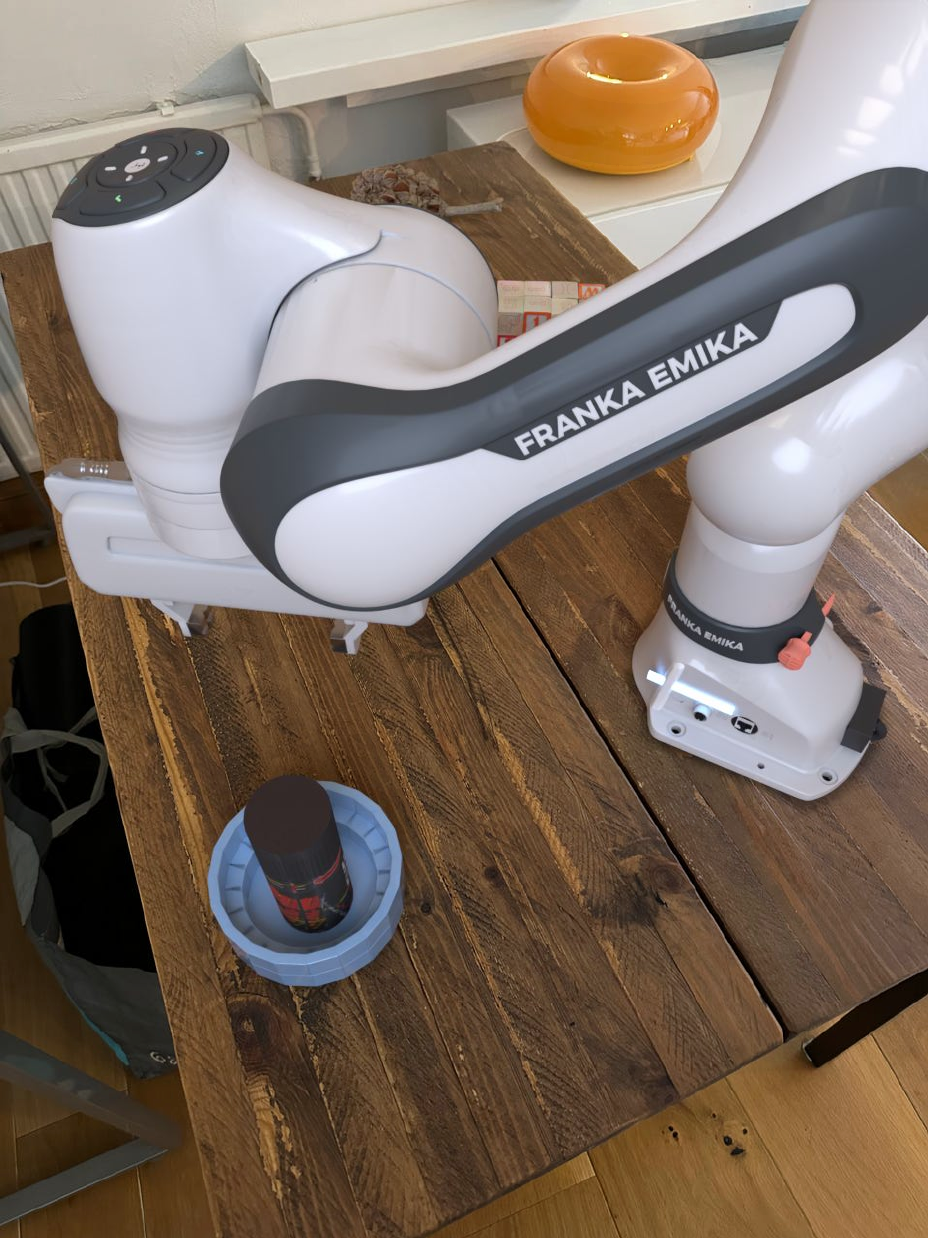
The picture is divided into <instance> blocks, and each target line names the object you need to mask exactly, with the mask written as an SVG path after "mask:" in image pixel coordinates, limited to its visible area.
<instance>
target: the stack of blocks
mask: <svg viewBox="0 0 928 1238" xmlns="http://www.w3.org/2000/svg"><path fill="white" fill-rule="evenodd" d="M496 285H497V290H498V299H499V306H498V332H497V348H498V347H499V346H501V345H503V344H505V343H507V342H509V341H510V340H512V339H514V338H516V337H518V336H520V335H521V334H523V333H525V332H527V331H529V330H531V329H532V328H534V327H536V326H538V325H540V324H542V323H543V322H545V321H547V320H549V319H551V318H553V317H554V316H556V315H558V314H560V313H562V312H564V311H565V310H567V309H569V308H571V307H573V306H575V305H576V304H578V303H580V302H582V301H584V300H586V299H587V298H589V297H591V296H593V295H595V294H597V293H598V292H600V291H602V290H604V289H606V285H605V284H604V283H603V284H601V283H578V282H577V281H561V280H560V281H559V280H552V281H548V280H547V281H543V280H542V281H541V280H525V281H524V280H501V279H500V280H497V281H496Z"/></svg>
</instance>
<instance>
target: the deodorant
mask: <svg viewBox="0 0 928 1238" xmlns="http://www.w3.org/2000/svg"><path fill="white" fill-rule="evenodd" d="M317 781H318V780H316V779H313V778H311V777H309V776H306V775H300V774H297V773H296V774H295V773H294V774H283V775H279V776H275V777H273V778H271V779H269V780H267V781H266V782H265V781H264V782H263V783H262V784H261V785H260V786H259V787H258V788H257V789H255V790H254V791H253V792H252V794H251V795H250V797H249V798H248V800H247V802H246V804H245V806H246V807H245V806H244V807H245V810H244V818H243V822H244V828H245V832H246V834H247V836H248V839H249V841H250V843H251V845H252V848H253V850H254V852H255V855H256V857H257V859H258V861H259V864H260V866H261V868H262V871H263V873H264V875H265V877H266V880H267V882H268V884H269V887H270V889H271V891H272V893H273V896H274V898H275V900H276V903H277V905H278V907H279V909H280V912H281V914H282V916H283V917H284V919H285V921H286V922H287V923H288V924H289V925H290V926H291V927H293V928H294V929H296V930H298V931H300V932H305V933H309V934H311V933H321V932H324V931H328V930H330V929H332V928H333V927H335V926H337V925H338V924H339V923H340V922H341V921H342V920H343V919H344V918H345V917H346V915H347V913H348V912H349V910H350V908H351V905H352V901H353V888H352V884H351V880H350V876H349V872H348V868H347V864H346V860H345V857H344V853H343V849H342V845H341V841H340V837H339V833H338V829H337V826H336V822H335V818H334V814H333V810H332V806H331V802H330V798H329V796H328V794H327V792H326V791H325V789H324V788H323V787H322V786H321V785H320V784H319V783H318V782H317Z"/></svg>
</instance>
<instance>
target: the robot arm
mask: <svg viewBox="0 0 928 1238" xmlns="http://www.w3.org/2000/svg"><path fill="white" fill-rule="evenodd" d="M50 236H51V246H52V252H53V253H52V254H53V259H54V260H53V261H54V265H55V269H56V273H57V277H58V281H59V286H60V288H61V289H60V290H61V293H62V297H63V301H64V304H65V306H66V311H67V313H68V316H69V319H70V323H71V326H72V329H73V332H74V336H75V339H76V341H77V344H78V346H79V349H80V352H81V355H82V357H83V359H84V362H85V365H86V368H87V370H88V372H89V375H90V378H91V380H92V383H93V385H94V387H95V388H96V390H97V392H98V393H99V395H100V396H101V397H102V399H103V400H104V401H105V402H106V403H107V405H108V406H109V407H110V408H111V409H112V410H113V412H114V414H115V416H116V419H117V435H118V444H119V448H120V452H121V455H122V458H123V460H124V461H123V460H108V461H102V460H101V461H100V460H91V459H89V458H86V457H78V456H77V457H76V456H73V457H65V458H63V459H62V460H61V462H60V463H58V464H53V465H52V466H50V467H48V468H47V470H46V472H45V473H44V477H43V486H44V489H45V491H46V492H47V495H48V497H49V498H50V501H51V503H52V505H53V506H54V508H55V509H56V510H57V511H58V512H59V513H60V514H61V527H62V528H61V529H62V533H63V537H64V541H65V545H66V547H67V548H66V549H67V551H68V555H69V556H70V559H71V562H72V566H73V568H74V569H75V572H76V575H77V576H78V579H79V580H80V581H81V582H82V583H83V584H84V585H85V586H87V587H88V588H89V589H91V590H93V591H94V592H96V593H98V594H101V595H105V596H117V597H124V598H135V599H145V600H150V603H151V605H152V606H154V607H155V608H156V609H158V610H159V611H161V612H162V613H164V614H165V615H166V616H167V617H169V618H170V619H172V620H173V621H175V622H177V623H178V625H179V629H180V630H181V632H182V635H183V637H191V638H203V639H204V638H205V639H208V638H209V637H210V636H211V629H212V628H213V627H214V624H215V620H216V617H215V613H214V612H213V611H212V609H213V607H221V608H231V609H241V610H249V611H250V610H251V611H257V612H258V611H259V612H268V613H276V614H277V613H279V614H289V615H297V616H307V617H316V618H325V619H334V621H333V626H334V627H333V628H332V629H331V632H330V635H329V641H330V645H331V646H332V647H331V651H332V652H333V653H339V654H347V655H357V654H358V651H359V648H360V645H361V640H362V634H363V633H364V632H365V631H366V630H367V629H368V628H369V624H370V623H374V624H382V625H393V626H401V627H411V626H413V625H414V624H416V623H417V622H419V621H420V620H421V619H423V618H424V617H425V616H426V612H427V609H428V605H429V601H430V598H431V597H433V596H435V595H438V594H440V593H441V592H443V591H445V590H446V589H448V588H450V587H453V586H454V585H455V584H457V583H458V582H460V581H462V580H463V579H465V578H466V577H468V576H469V575H471V574H472V573H473V572H476V570H478V569H480V567H481V566H483V565H485V563H487V562H488V561H489V560H491V559H492V558H493V557H494V556H495V555H497V554H498V553H499V552H501V551H503V549H505V548H506V547H508V546H509V545H510V544H512V543H513V542H514V541H516V540H517V539H519V538H521V537H522V536H524V535H525V534H528V533H529V532H530V531H532V530H534V529H536V528H537V527H539V526H541V525H542V524H543V525H544V524H545V523H547V522H549V521H551V520H552V519H555V518H557V517H558V516H560V515H562V514H565V513H566V512H569V511H571V510H572V509H575V508H577V507H579V506H581V505H584V504H585V503H588V502H589V501H592V500H594V499H596V498H599V497H600V496H602V495H604V494H606V493H608V492H610V491H612V490H615V489H616V488H618V487H621V486H623V485H625V484H627V483H629V482H631V481H633V480H635V479H637V478H640V477H642V476H644V475H646V474H648V473H650V472H652V471H654V470H656V469H658V468H661V467H663V466H665V465H667V464H669V463H671V462H673V461H675V460H677V459H679V458H681V457H684V456H686V455H688V457H687V463H686V469H685V481H686V487H687V490H688V493H689V496H690V497H691V498H690V499H691V501H690V504H689V507H688V511H687V515H686V519H685V523H684V526H683V527H684V528H683V530H682V533H681V539H680V542H679V545H678V547H677V548H676V549H674V550H673V553H672V555H671V557H670V558H669V561H668V564H667V566H666V570H665V573H664V577H663V580H662V584H663V585H662V590H661V594H660V595H661V600H662V601H661V603H660V606H659V608H658V610H657V612H656V614H655V616H654V617H653V619H652V620H651V622H650V624H649V625H648V627H647V628H645V629H644V631H643V632H642V634H640V635H639V638H638V639H637V641H636V643H635V645H634V648H633V653H632V658H631V669H632V675H633V680H634V683H635V685H636V687H637V689H638V692H639V693H640V695H641V697H642V699H643V702H644V703H645V706H646V720H647V721H646V722H647V729H648V732H649V733H650V735H651V736H652V737H653V738H655V739H656V740H658V741H660V742H662V743H664V744H667V745H670V746H672V747H674V748H677V749H679V750H681V751H684V752H686V753H688V754H691V755H693V756H696V757H698V758H701V759H703V760H705V761H707V762H710V763H713V764H715V765H717V766H719V767H722V768H724V769H726V770H729V771H731V772H734V773H736V774H739V775H741V776H743V777H746V778H748V779H750V780H753V781H755V782H757V783H760V784H763V785H765V786H767V787H770V788H772V789H775V790H777V791H779V792H782V793H784V794H787V795H789V796H791V797H794V798H796V799H799V800H802V801H806V802H811V801H814V800H818V799H820V798H823V797H824V796H826V795H828V794H830V793H832V792H833V791H835V790H836V789H837V788H839V787H840V786H841V785H842V784H843V783H844V782H845V781H846V780H847V779H848V778H849V777H850V776H851V775H852V773H853V772H854V770H855V769H856V768H857V766H858V765H859V763H860V762H861V761H862V758H863V757H864V755H865V754H866V752H867V749H868V748H869V746H870V743H871V742H876V741H881V740H883V739H885V738H886V737H887V736H888V735H887V734H888V728H887V726H886V725H885V723H884V722H883V721H882V720H881V719H880V718H879V717H880V714H881V710H882V707H883V704H884V701H885V699H886V695H887V692H888V691H887V690H885V689H882V688H881V687H878V686H876V685H873V684H870V683H868V682H865V681H864V669H863V666H862V663H861V661H860V659H859V658H858V656H857V655H856V654H855V653H854V652H853V650H851V648H849V646H848V645H847V644H846V642H845V641H843V639H842V638H841V637H840V636H839V635H838V634H837V633H836V631H835V630H834V624H833V622H832V621H831V619H829V617H827V616H828V614H829V612H830V611H831V609H832V608H833V605H834V601H835V597H836V594H835V593H832V594H831V595H830V597H829V598H828V599H827V601H826V602H825V604H824V605H823V607H822V608H821V605H820V603H819V601H818V599H817V596H816V589H815V588H816V587H815V585H814V584H815V582H816V580H817V578H818V576H819V573H820V571H821V569H822V567H823V564H824V562H825V560H826V558H827V556H828V554H829V551H830V550H831V546H832V545H833V543H834V540H835V538H836V536H837V533H838V532H839V530H840V527H841V524H842V522H843V520H844V518H845V514H846V513H847V510H848V508H849V506H851V505H852V504H853V503H854V502H855V501H857V499H858V498H859V497H860V496H862V495H863V494H864V493H866V491H868V490H870V488H872V487H873V486H875V484H877V483H878V482H880V481H881V480H883V478H885V477H887V476H888V475H890V474H891V473H893V472H894V471H895V470H897V469H898V468H900V467H901V466H903V465H904V464H906V463H907V462H909V461H910V460H912V459H913V458H915V457H916V456H919V455H920V454H921V453H923V452H924V451H925V450H927V449H928V0H810V1H809V2H808V4H807V5H806V7H805V9H804V11H803V12H802V14H801V16H800V17H799V19H798V21H797V23H796V25H795V27H794V29H793V31H792V33H791V35H790V36H789V40H788V42H787V43H786V47H785V49H784V51H783V53H782V56H781V59H780V61H779V63H778V67H777V70H776V73H775V77H774V80H773V83H772V87H771V90H770V93H769V96H768V100H767V103H766V106H765V109H764V111H763V114H762V117H761V120H760V122H759V125H758V127H757V129H756V132H755V134H754V135H753V137H752V140H751V142H750V144H749V147H748V149H747V151H746V152H745V155H744V157H743V158H742V160H741V162H740V165H738V168H737V169H736V171H735V172H734V175H733V177H732V178H731V179H730V181H729V183H728V185H727V186H726V188H725V189H724V191H723V192H722V194H721V195H720V196H719V198H718V199H717V201H716V202H715V203H714V204H713V206H712V207H711V209H710V210H709V211H707V213H706V214H705V215H704V217H702V219H701V220H700V221H699V222H698V223H697V224H696V225H695V227H694V228H693V229H692V230H690V232H688V233H687V234H686V235H685V236H684V237H683V238H682V239H681V240H680V241H679V242H678V243H676V244H675V245H674V246H673V247H671V248H670V249H669V250H667V251H666V252H665V253H664V254H663V255H661V256H660V257H658V258H657V259H655V260H654V261H652V262H651V263H649V264H647V265H645V266H644V267H643V268H641V269H639V270H637V271H635V272H633V273H631V274H629V275H628V276H626V277H624V278H622V279H620V280H619V281H617V282H615V283H613V284H611V285H610V286H608V287H605V289H604V290H602V291H600V292H598V293H597V294H595V295H593V296H591V297H589V298H587V299H586V300H584V301H582V302H580V303H578V304H576V305H575V306H573V307H571V308H569V309H567V310H565V311H564V312H562V313H560V314H558V315H556V316H554V317H553V318H551V319H549V320H547V321H545V322H543V323H542V324H540V325H538V326H536V327H534V328H532V329H531V330H529V331H527V332H525V333H523V334H521V335H520V336H518V337H516V338H514V339H512V340H510V341H509V342H507V343H505V344H503V345H501V346H499V347H498V348H497V332H498V306H499V299H498V290H497V281H496V277H495V275H494V272H493V270H492V268H491V265H490V263H489V261H488V260H487V258H486V256H485V255H484V253H483V251H482V250H481V249H480V248H479V246H478V245H477V244H476V243H475V241H474V240H473V239H472V238H471V237H470V236H469V235H468V234H467V233H466V232H464V230H462V229H461V228H460V227H458V226H457V225H455V224H454V223H453V222H451V221H450V220H448V219H447V218H446V217H444V218H443V217H441V216H439V215H437V214H435V213H433V212H430V211H428V210H425V209H422V208H419V207H415V206H411V205H406V204H399V203H374V204H365V203H361V202H356V201H353V200H350V199H348V198H345V197H342V196H338V195H334V194H331V193H329V192H328V193H327V192H324V191H321V190H318V189H315V188H312V187H309V186H307V185H305V184H302V183H299V182H296V181H294V180H292V179H291V178H290V179H289V178H287V177H285V176H283V175H282V174H279V173H277V172H276V171H273V170H271V169H270V168H269V167H267V166H265V165H263V164H262V163H261V162H260V161H258V160H257V159H256V158H255V157H253V156H252V155H250V153H248V152H247V151H246V150H245V149H243V147H242V146H240V145H239V144H238V143H236V142H235V141H234V140H232V139H231V138H230V137H228V136H226V135H224V134H222V133H219V132H217V131H213V130H209V129H204V128H195V127H182V126H181V127H180V126H179V127H168V128H160V129H155V130H151V131H148V132H144V133H140V134H137V135H134V136H131V137H129V138H127V139H124V140H122V141H119V142H116V143H115V144H114V146H111V147H109V148H108V149H106V150H105V151H102V152H101V153H99V154H98V155H94V156H93V157H91V158H90V159H89V160H88V161H87V162H86V163H85V164H84V165H83V166H82V167H81V168H80V169H79V170H78V171H77V173H76V174H75V175H74V176H73V177H72V178H71V180H70V181H69V183H68V184H67V185H66V187H65V188H64V190H63V192H62V193H61V195H60V197H59V198H58V201H57V204H56V205H55V207H54V210H53V212H52V214H51V220H50ZM673 730H674V731H676V732H678V733H674V732H673ZM823 777H826V778H827V779H829V780H826V779H824V778H823Z"/></svg>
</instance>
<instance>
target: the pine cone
mask: <svg viewBox="0 0 928 1238" xmlns="http://www.w3.org/2000/svg"><path fill="white" fill-rule="evenodd" d="M351 185H352V186H351V187H352V190H351V191H350V196H349V200H353V201H356V202H361V203H365V204H374V203H399V204H406V205H411V206H415V207H419V208H422V209H425V210H428V211H430V212H433V213H435V214H437V215H439V216H441V217H443V218H452V217H459V216H470V215H476V214H485V213H491V212H501V213H502V212H503V211H502V207H503V205H504V203H506V204H508V202H507V201H505V199H504V197H503V196H502V197H499V196H498V195H497V196H496V197H495V198H494V199H491V200H489V201H484V202H480V203H475V204H466V205H455V206H453V205H452V206H450V205H449V204H448V203H446V201H444V200H443V199H442V197H441V194H440V189H439V183H438V182H437V180H436V179H435V178H431V177H429V176H428V175H427V174H426V173H425V172H423V171H422V170H421V171H419V172H417V174H416V173H415V171H414V169H412V168H411V167H409V168H405V167H404V166H403V165H402V164H400V163H398V164H397V165H396V166H394V165H392V164H391V163H389V164H385V166H383V167H379V166H378V167H374V168H372V169H371V168H369V169H368V168H366V169H364V170H362V172H361V175H358V176H356V179H354V180H353V181H352V182H351Z"/></svg>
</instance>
